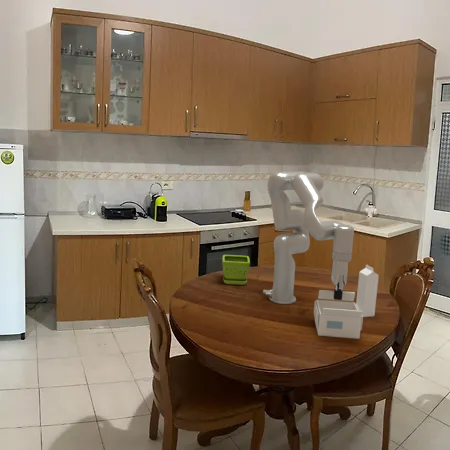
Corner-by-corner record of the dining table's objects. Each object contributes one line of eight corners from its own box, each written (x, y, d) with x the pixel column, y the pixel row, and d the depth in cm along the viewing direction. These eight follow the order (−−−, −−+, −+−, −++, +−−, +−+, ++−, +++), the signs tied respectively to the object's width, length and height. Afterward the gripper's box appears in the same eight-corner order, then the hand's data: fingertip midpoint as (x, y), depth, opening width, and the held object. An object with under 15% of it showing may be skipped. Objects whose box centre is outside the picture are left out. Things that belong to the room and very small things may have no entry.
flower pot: (248, 286, 248) (250, 262, 245) (221, 285, 248) (222, 261, 245) (247, 278, 261) (249, 255, 259) (221, 277, 261) (222, 254, 259)
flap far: (353, 301, 205) (353, 300, 205) (355, 292, 202) (355, 292, 202) (318, 298, 206) (318, 297, 207) (319, 290, 203) (319, 289, 203)
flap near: (321, 313, 191) (321, 314, 190) (323, 307, 186) (323, 308, 186) (360, 316, 190) (360, 317, 189) (362, 310, 185) (362, 311, 185)
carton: (316, 335, 193) (318, 313, 191) (312, 319, 209) (314, 299, 207) (361, 338, 192) (363, 317, 190) (354, 322, 207) (356, 302, 205)
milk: (362, 317, 214) (367, 268, 209) (355, 312, 220) (359, 264, 215) (374, 316, 216) (379, 268, 211) (367, 311, 221) (371, 264, 217)
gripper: (330, 250, 204) (326, 292, 208) (334, 260, 189) (330, 305, 193) (348, 251, 203) (344, 293, 207) (354, 261, 189) (349, 306, 193)
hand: (337, 298), depth 200 cm, fingers closed
